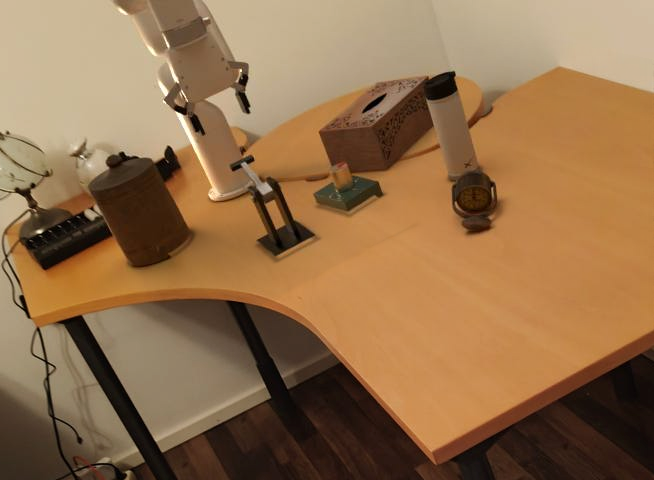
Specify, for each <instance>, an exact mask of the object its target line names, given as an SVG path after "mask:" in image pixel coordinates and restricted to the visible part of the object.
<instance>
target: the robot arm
mask: <svg viewBox="0 0 654 480" xmlns="http://www.w3.org/2000/svg"><path fill="white" fill-rule="evenodd" d="M110 1H111V2H112V3H113V5H114V7H115V8H116V9H117V10H118V11H119V12H120V13H121V14H123V15H125V16H130V18H131V20H132V22H133V24H134V26H135V28H136V29H137V30H136V31H138V33H139V35H140V37H141V40H142V41H143V43H144V44H145V46H146V48H147V49H148V51H149V52H150V53H151V54H152V55H153V56H154V57H156V58H165V59H166V61H165V62H164V63H163V64H161V66H160V67H159V68H158V70H157V73H156V80H157V83H158V86H159V88H160V90H161V91H162V94H163V95H164V96H165V97H164V98H163V103H164V104H165V105H166V106H167V107H168V108H170V109H172V110H173V111H174V112H175V113H176V115H177V117H178V119H179V121H180V123H181V125H182V128H183V129H184V131H185V133H186V135H187V137H188V139H189V141H190V144H191V145H192V147H193V149H194V152H195V154H196V156H197V158H198V161H199V162H200V165H201V166H202V169H203V170H204V173H205V175H206V177H207V180H208V181H209V183H210V185H211V188H210V189H209V191H208V197H209V199H210V200H211V201H214V202H222V201H227V200H231V199H235V198H237V197H239V196H241V195H243V194H245V193H247V192H249V191H248V189H247V187H249V186H253V187H254V188H255V187H256V185H255V184H254V183H253V182H252V180H251V179H250V178H249V177H248V175H247V174H246V173H245V171H244V170H243V169H242V168H240V169H238V170H236V171H234V172H232V170H231V169H230V166H229V165H230V164H232V163H234V162H236V161H239V160H241V159H243V158H244V156H243V154H242V152H241V150H240V147H239V145H238V142H237V140H236V138H235V135H234V133H233V131H232V129H231V126H230V124H229V122H228V120H227V117H226V115H225V113H224V112H223V110H222V109H221V108H220V107H219V106H218V105H216V104H215V103H212V102H210V101H208V100H206V99H209V98H211V97H213V96H215V95H217V94H219V93H221V92H223V91H225V90H227V89H229V88H231V89H233V90H235V91H234V96H235V98H236V100H237V102H238V105H239V107H240V110H241V112H242V113H243V114H245V115H250V114H251V110H250V108H251V107H252V106H251V103H250V101H249V98H248V97H247V93H246V90H247V86H248V82H249V79H250V77H249V74H250V73H249V71H250V70H249V69H250V65H249V63H247V62H245V61H236V59H235V57H234V55H233V53H232V50H231V49H230V47H229V45H228V43H227V41H226V39H225V37H224V35H223V33H222V31H221V30H220V27H219V25H218V23H217V21H216V20H215V18H214V16H213V14H212V12H211V10H210V9H209V7H208V6H207V4H206V3H205V2H204V1H203V0H110ZM253 172H254V173H255V175H256V176H257V177H258V178H259V179H260V176H259V174H258V173H257V172H256V171H253Z"/></svg>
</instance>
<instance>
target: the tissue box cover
mask: <svg viewBox="0 0 654 480" xmlns="http://www.w3.org/2000/svg"><path fill="white" fill-rule="evenodd" d="M429 79H430V77H429V75H425V76H418V77H411V78H409V77H408V78H401V79H394V80H393V79H392V80H385V81H378V82H376V83H374V84H373V85H372V86H371V87H370V88H369V89H367V90H366V91H365V92H363V93H362V94H361V95H360V96H359V97H358V98H356V99H355V100H354V101H353V102H352V103H350V104H349V105H348V106H347V107H345V108H344V109H343V110H342V111H341V112H340V113H339V114H337V115H336V116H334V118H333V119H332V120H330V121H329V122H328V123H327V124H325V125H324V126H323V127H322V128H321V129H319V130H318V135H319V137H320V140H321V141H322V145H323V148H324V150H325V153H326V156H327V159H328V161H329V164H330V166H331V167H332V166H334V165H336V164H339V163H342V162H346V164H347V165H348V168H349V171H350V173H358V172H377V171H387V170H389V168H390V167H391V166H393V164H394V163H395V162H397V160H398V159H399V158H400V157H401V156H403V154H405V153H406V152H407V151H408V150H409V149H410V148H411V147H412V146H413V145H414V144H415V143H416V142H417V141H418V140H419V139H420V138H421V137H422V136H423V135H424V134H425V133H426V132H427V131H429V129H431V127H432V126H434V124H433V121H432V117H431V114H430V111H429V107H428V104H427V100H426V96H425V95H426V94H425V93H424V89H423V86H424V85H425V83H426V82H427V81H428V80H429Z"/></svg>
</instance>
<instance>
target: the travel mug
mask: <svg viewBox="0 0 654 480" xmlns="http://www.w3.org/2000/svg"><path fill="white" fill-rule="evenodd" d="M456 76H457V73H456V71H455V70H452V71H445V72H441V73H439V74H437V75H435V76H433V77H431V78H429V80H428V81H427V82H426V83H425V85H424V86H423V89H424V93H425V94H426V95H425V96H426V100H427V104H428V107H429V111H430V114H431V117H432V121H433V127H434V130H435V131H434V132H435V134H436V138H437V141H438V144H439V147H440V151H441V155H442V158H443V160H444V164H445V168H446V171H447V174H448V178H449V179H450V180H451V181H455V182H456V181H457V179H458V177H459V176H460V175H461V174H463V173H464V172H467V171H470V170H478V171H480V165H479V162H478V157H477V154H476V150H475V146H474V143H473V139H472V135H471V132H470V128H469V125H468V124H469V123H468V121H467V117H466V113H465V109H464V107H463V102H462V98H461V95H460V92H459V88H458V85H457V82H456Z"/></svg>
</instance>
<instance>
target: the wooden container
mask: <svg viewBox="0 0 654 480" xmlns="http://www.w3.org/2000/svg"><path fill="white" fill-rule="evenodd" d="M105 165H106V167H108V169H106V170H104V171H102V172H101V173H99V174H98V175H96V176H94V178H93V179H91V180H90V182H89V183H88V184H87V190H88V193H89V194H90V196H91V198H92V199H93V201H94V202H95V204H96V206H97V208H98V210H99V212H100V214H101V216H102V217H103V220H104V221H105V223H106V225H107V227H108V229H109V230H110V232H111V234H112V236H113V238H114V239H115V241H116V243H117V246H119V248H120V249H121V251H122V253H123V255H124V256H125V258H126V260H127V262H128V263H129V264H130V265H131V266H135V267H142V266H148V265H152V264H156V263H158V262H162V261H164V260H166V259H167V258H170V257H171V255H170V253H171V252H173V251H175V250H176V249H178V248H179V247H181V246H182V245H183V244H184V243H185V242H186V241H187V240H188V239H189V237H190V235H191V230H190V228H189V226H188V225H187V221H185V219H184V215H183V214H182V212H181V210H180V208H179V207H178V205H177V203H176V201H175V199H174V198H173V196H172V194H171V192H170V190H169V189H168V187H167V185H166V182H165V181H164V179H163V177H162V175H161V173H160V171H159V169H158V167H157V165H156V163H155V161H154V160H153V159H152V157H151V158H150V157H138V158H133V159H130V160H126V161H124V162H123V158H122V157H121V155H119V154H111V155H109V156H107V158H106V160H105Z"/></svg>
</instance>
